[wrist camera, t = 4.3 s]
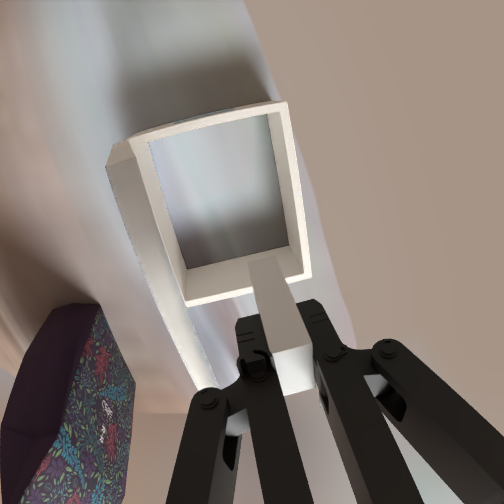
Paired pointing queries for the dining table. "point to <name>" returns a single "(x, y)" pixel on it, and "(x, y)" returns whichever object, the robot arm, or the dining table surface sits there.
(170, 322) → the lid
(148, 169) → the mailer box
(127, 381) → the decorative box
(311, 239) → the dining table surface
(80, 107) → the dining table surface
